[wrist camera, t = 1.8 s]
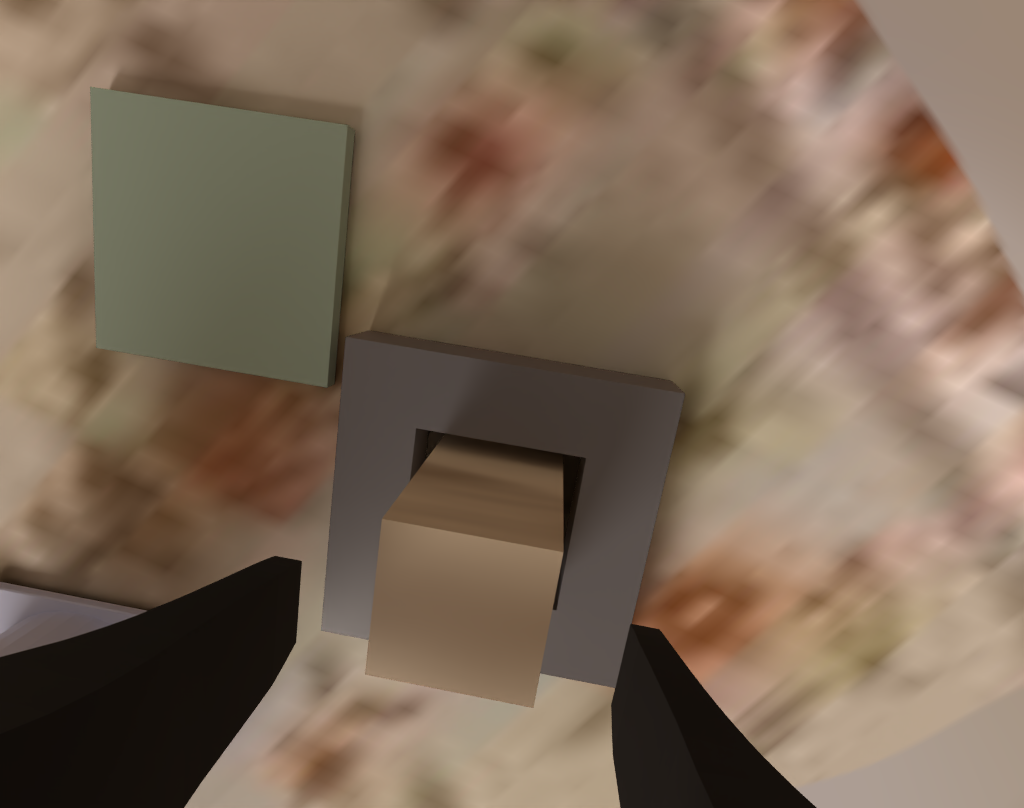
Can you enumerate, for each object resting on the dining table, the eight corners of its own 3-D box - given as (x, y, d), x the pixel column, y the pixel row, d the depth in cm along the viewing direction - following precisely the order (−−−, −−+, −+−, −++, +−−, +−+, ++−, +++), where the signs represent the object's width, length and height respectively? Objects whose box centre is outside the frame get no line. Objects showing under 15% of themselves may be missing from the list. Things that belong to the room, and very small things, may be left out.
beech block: (543, 558, 20) (533, 707, 13) (432, 538, 20) (364, 674, 13) (562, 452, 19) (563, 552, 12) (446, 431, 19) (382, 518, 12)
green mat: (334, 384, 19) (327, 387, 18) (110, 345, 19) (96, 347, 19) (355, 130, 17) (347, 124, 16) (106, 93, 17) (90, 86, 17)
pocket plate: (610, 648, 20) (616, 688, 18) (343, 597, 21) (320, 630, 19) (671, 380, 18) (685, 393, 16) (368, 330, 18) (345, 337, 16)
